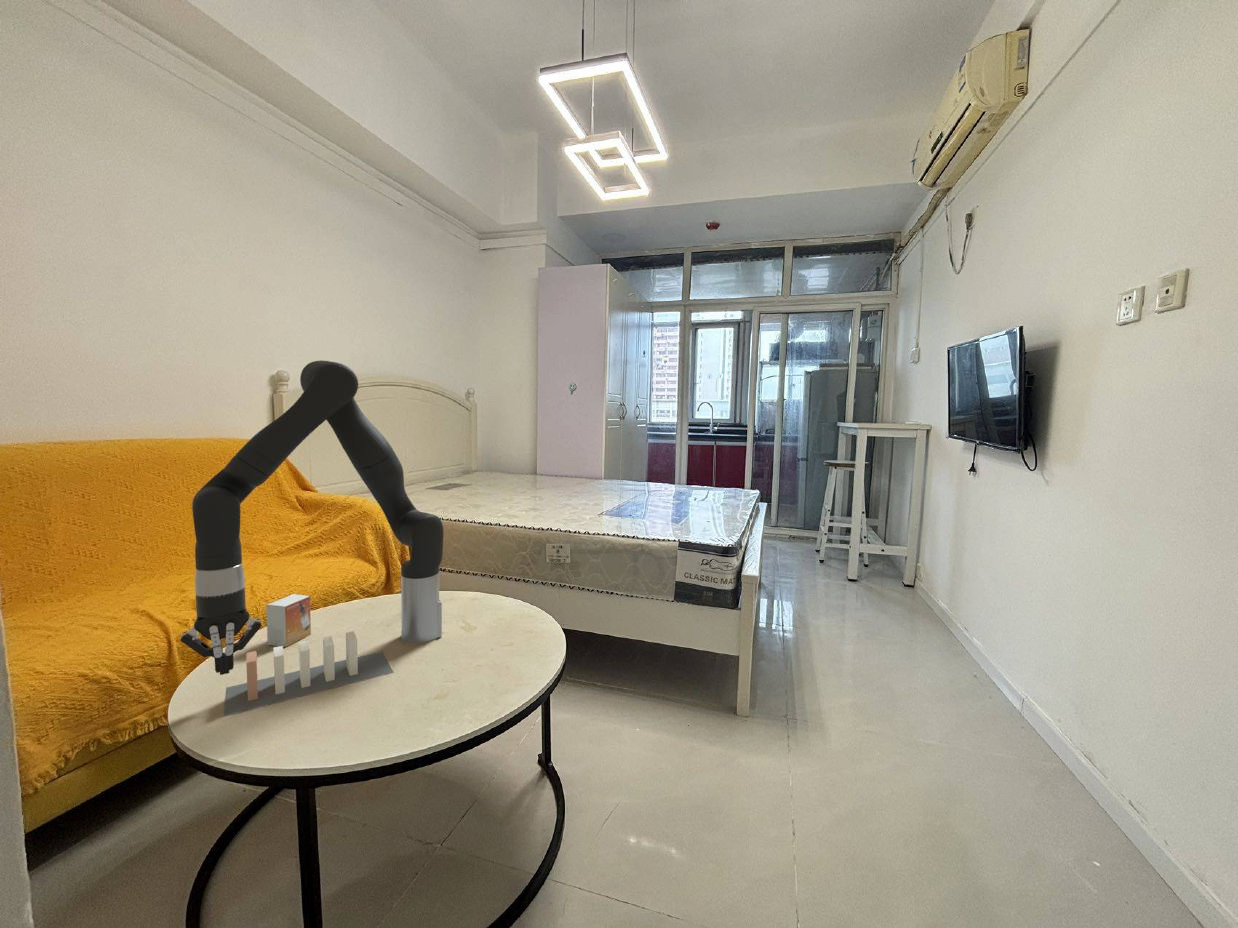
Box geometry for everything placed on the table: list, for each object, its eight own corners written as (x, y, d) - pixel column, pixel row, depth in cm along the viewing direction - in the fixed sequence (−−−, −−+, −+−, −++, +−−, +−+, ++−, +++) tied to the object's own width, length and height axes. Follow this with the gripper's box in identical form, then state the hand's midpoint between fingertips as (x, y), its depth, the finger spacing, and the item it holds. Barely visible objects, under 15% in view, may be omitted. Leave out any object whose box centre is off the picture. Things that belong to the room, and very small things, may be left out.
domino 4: (331, 669, 112) (331, 635, 111) (334, 679, 108) (333, 644, 107) (323, 671, 111) (322, 637, 110) (326, 681, 107) (325, 646, 106)
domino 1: (257, 687, 104) (256, 650, 103) (257, 698, 100) (256, 660, 99) (248, 689, 103) (246, 652, 102) (247, 701, 99) (246, 662, 98)
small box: (285, 648, 122) (284, 606, 121) (266, 645, 123) (265, 604, 122) (311, 634, 130) (310, 595, 129) (293, 631, 131) (292, 593, 130)
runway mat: (382, 652, 121) (382, 651, 121) (393, 673, 112) (393, 672, 111) (226, 689, 103) (226, 687, 103) (223, 718, 94) (223, 716, 94)
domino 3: (308, 675, 109) (307, 640, 108) (310, 685, 105) (309, 649, 104) (299, 677, 108) (298, 642, 107) (301, 687, 104) (300, 651, 103)
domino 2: (283, 681, 106) (282, 645, 106) (284, 692, 102) (283, 655, 102) (274, 683, 105) (273, 647, 105) (275, 694, 101) (274, 657, 101)
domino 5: (354, 664, 114) (353, 631, 114) (357, 673, 110) (357, 639, 110) (346, 666, 113) (345, 632, 113) (349, 675, 109) (349, 641, 109)
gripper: (172, 600, 90) (178, 691, 91) (262, 587, 97) (266, 671, 99) (177, 588, 96) (183, 673, 97) (262, 576, 103) (265, 656, 105)
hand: (225, 672), depth 98 cm, fingers closed
